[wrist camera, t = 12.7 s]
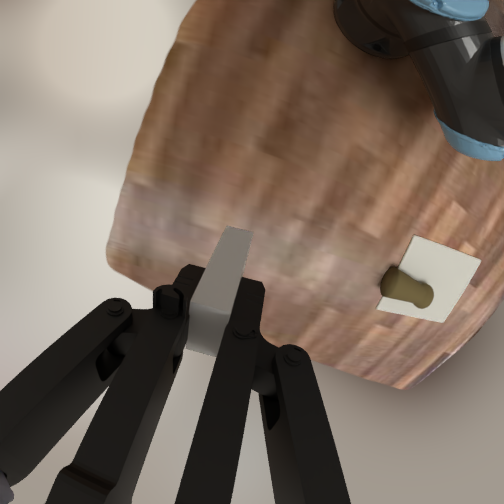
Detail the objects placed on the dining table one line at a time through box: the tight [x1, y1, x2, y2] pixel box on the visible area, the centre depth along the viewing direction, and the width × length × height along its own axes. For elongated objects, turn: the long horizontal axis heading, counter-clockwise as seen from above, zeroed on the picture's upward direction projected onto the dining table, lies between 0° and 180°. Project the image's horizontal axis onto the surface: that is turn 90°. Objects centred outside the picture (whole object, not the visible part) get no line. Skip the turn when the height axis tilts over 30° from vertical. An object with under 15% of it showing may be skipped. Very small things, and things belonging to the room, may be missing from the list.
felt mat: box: [376, 235, 481, 323], centre depth 52 cm, size 20×18×1 cm
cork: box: [380, 267, 434, 309], centre depth 50 cm, size 6×6×11 cm
